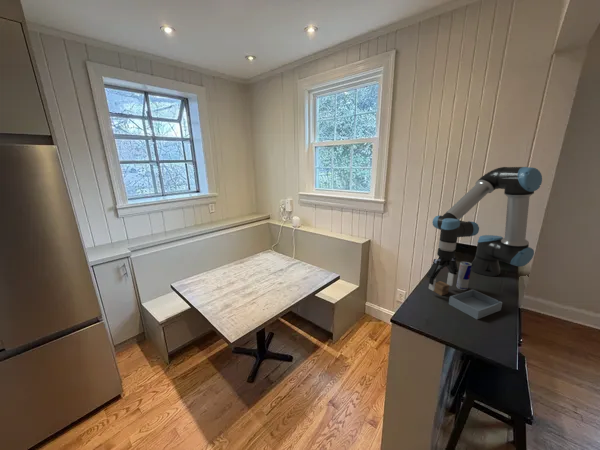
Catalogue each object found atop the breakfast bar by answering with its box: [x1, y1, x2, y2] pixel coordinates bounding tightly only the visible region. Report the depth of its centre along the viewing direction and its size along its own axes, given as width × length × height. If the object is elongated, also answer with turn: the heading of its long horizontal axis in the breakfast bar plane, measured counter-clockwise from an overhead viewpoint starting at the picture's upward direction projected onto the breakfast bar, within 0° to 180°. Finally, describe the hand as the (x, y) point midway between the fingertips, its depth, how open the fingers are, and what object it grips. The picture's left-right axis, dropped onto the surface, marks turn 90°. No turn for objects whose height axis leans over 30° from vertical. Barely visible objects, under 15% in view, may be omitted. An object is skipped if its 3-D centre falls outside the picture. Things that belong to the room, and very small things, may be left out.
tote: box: [448, 288, 503, 320], centre depth 114 cm, size 17×13×4 cm
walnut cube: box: [433, 280, 450, 297], centre depth 128 cm, size 5×5×5 cm
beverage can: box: [456, 261, 472, 291], centre depth 130 cm, size 5×5×15 cm
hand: (440, 287), depth 127 cm, fingers open, 13 cm apart
